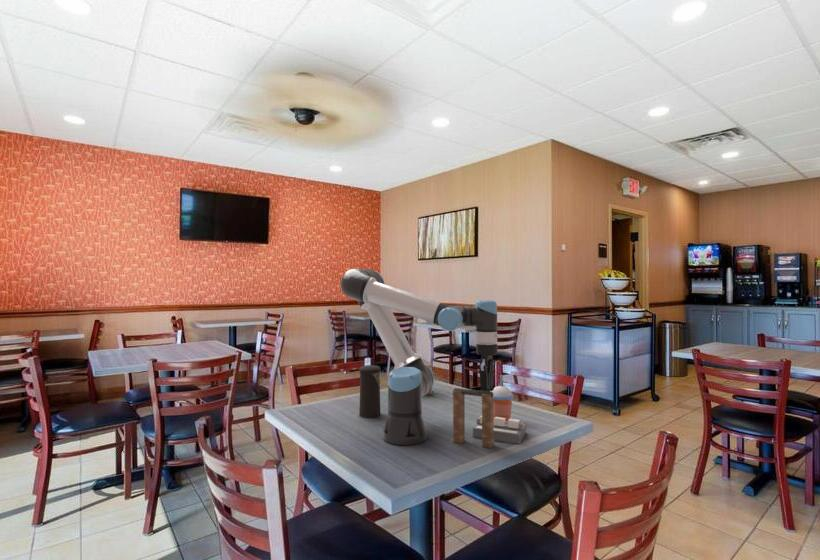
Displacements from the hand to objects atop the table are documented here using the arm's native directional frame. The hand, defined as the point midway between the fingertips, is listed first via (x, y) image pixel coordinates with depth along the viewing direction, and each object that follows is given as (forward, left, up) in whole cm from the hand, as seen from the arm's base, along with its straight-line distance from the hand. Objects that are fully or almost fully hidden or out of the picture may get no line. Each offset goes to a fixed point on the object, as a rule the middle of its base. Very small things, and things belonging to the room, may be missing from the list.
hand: (487, 409), depth 155 cm
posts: (-2, -12, -9) cm, 15 cm away
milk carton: (-48, +43, -9) cm, 65 cm away
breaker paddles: (+4, 0, -5) cm, 7 cm away
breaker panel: (+4, 0, -9) cm, 10 cm away
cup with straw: (+1, +15, -9) cm, 17 cm away
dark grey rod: (-2, -12, +7) cm, 14 cm away
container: (-50, +1, -9) cm, 50 cm away
